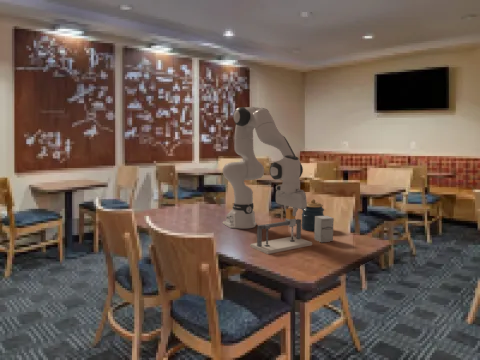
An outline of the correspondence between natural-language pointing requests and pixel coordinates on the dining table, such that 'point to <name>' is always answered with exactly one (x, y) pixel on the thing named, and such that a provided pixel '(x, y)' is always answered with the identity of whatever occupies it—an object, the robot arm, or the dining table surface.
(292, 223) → the leg
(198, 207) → the dining table surface
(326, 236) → the supplement box
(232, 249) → the dining table surface
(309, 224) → the canister
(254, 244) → the hole plate
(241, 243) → the dining table surface
